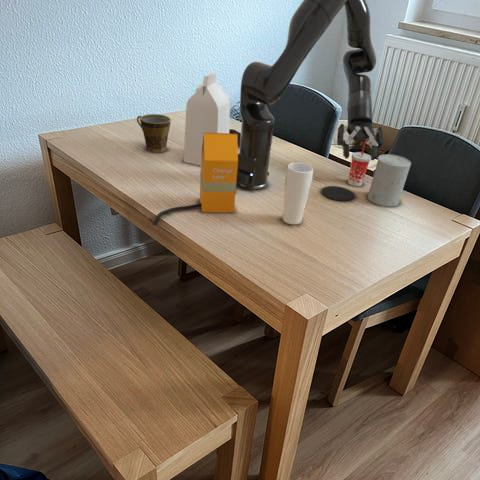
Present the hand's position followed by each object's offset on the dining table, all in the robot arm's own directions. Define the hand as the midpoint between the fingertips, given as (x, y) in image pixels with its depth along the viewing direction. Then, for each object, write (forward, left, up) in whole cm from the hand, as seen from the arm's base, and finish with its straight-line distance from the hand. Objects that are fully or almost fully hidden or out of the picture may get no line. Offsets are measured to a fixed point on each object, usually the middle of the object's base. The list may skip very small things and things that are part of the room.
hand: (360, 158), depth 150 cm
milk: (-21, +45, -8) cm, 50 cm away
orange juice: (-46, +21, -8) cm, 52 cm away
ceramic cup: (-27, +64, -8) cm, 70 cm away
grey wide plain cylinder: (-5, -12, -8) cm, 16 cm away
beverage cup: (0, 0, -8) cm, 8 cm away
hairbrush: (+2, +47, -8) cm, 47 cm away
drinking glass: (-38, +1, -8) cm, 39 cm away
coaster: (-13, 0, -8) cm, 15 cm away
